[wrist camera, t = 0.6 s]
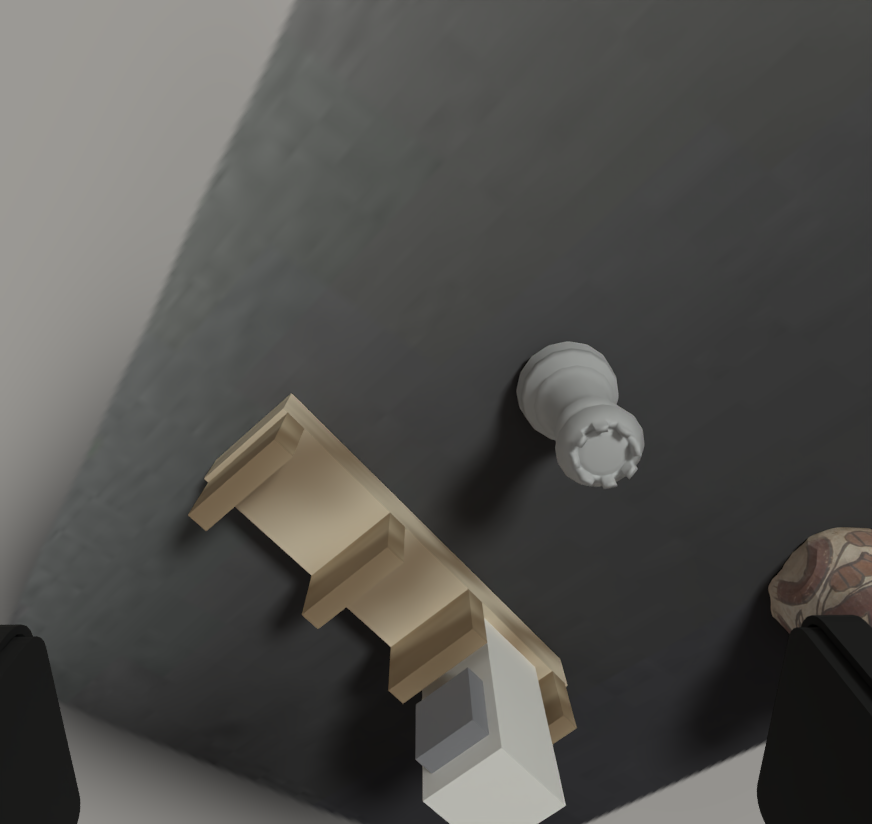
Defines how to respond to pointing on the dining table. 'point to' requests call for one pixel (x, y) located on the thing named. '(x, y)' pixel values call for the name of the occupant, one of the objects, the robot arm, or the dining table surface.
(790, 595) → the figurine
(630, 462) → the rook chess piece
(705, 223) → the dining table surface
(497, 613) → the wooden slotted rack
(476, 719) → the white and grey block
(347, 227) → the dining table surface
